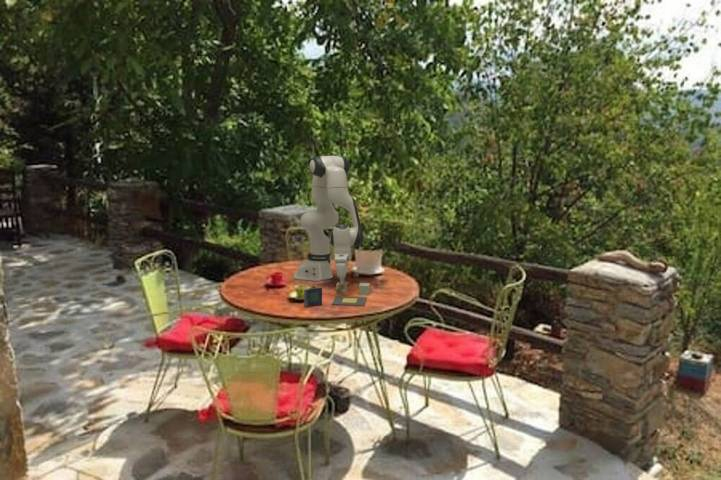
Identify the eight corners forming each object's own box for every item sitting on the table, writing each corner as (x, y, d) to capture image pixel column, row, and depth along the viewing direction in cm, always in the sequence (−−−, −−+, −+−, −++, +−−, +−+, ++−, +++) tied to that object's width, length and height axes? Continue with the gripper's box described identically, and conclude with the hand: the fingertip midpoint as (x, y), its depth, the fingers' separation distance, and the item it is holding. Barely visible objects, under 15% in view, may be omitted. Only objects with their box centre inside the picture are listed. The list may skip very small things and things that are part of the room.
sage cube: (359, 294, 303) (359, 285, 302) (360, 292, 308) (360, 283, 307) (368, 295, 302) (368, 285, 301) (369, 292, 307) (369, 283, 306)
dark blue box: (305, 307, 281) (305, 286, 279) (303, 306, 284) (302, 284, 282) (323, 305, 286) (322, 284, 283) (320, 303, 288) (320, 282, 286)
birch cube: (336, 294, 304) (336, 284, 303) (337, 291, 309) (337, 282, 308) (345, 294, 303) (345, 285, 302) (346, 291, 308) (346, 282, 307)
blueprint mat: (331, 305, 285) (331, 303, 285) (335, 297, 298) (335, 296, 298) (364, 306, 284) (364, 304, 284) (366, 298, 297) (366, 297, 296)
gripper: (338, 251, 312) (339, 276, 315) (334, 259, 292) (334, 286, 295) (350, 251, 312) (350, 276, 314) (346, 259, 292) (347, 286, 294)
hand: (343, 281), depth 304 cm, fingers open, 8 cm apart
